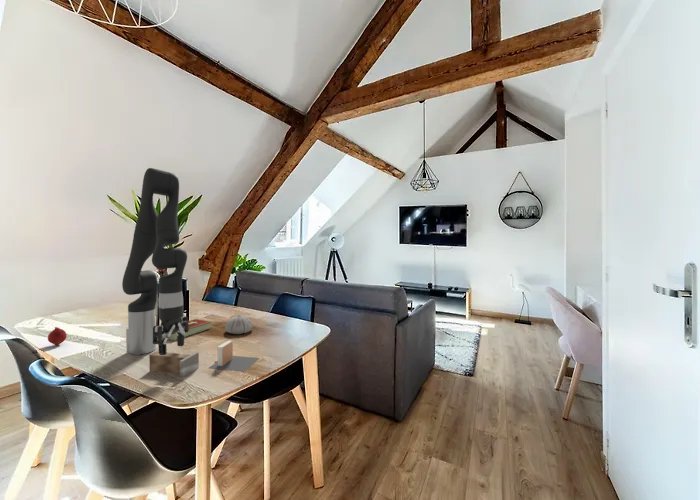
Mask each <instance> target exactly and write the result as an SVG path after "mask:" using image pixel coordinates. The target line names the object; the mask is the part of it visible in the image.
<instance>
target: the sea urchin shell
mask: <svg viewBox="0 0 700 500" xmlns="http://www.w3.org/2000/svg"><path fill="white" fill-rule="evenodd" d="M253 324H254V323H253V322H252V320H251V319H250V318H249V317H247V316H246V315H242V314H241V315H235V316H233V317H231V318H229V320H227V322H226V323H225V326H224V329H225V332H227V334H233V335H242V334H243V333H244V334H246V333H249V332H251V330H252V329H253V327H254V325H253Z"/></svg>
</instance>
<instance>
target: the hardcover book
mask: <svg viewBox="0 0 700 500" xmlns="http://www.w3.org/2000/svg"><path fill="white" fill-rule="evenodd" d="M211 324H212V321H211V320H207V319H206V320H204V319H199V318H194V319H190V320H188V327H189V331H188V332H186V333H185V335H184V338H186V337H188V336H191V335H194V334H199V333H200V332H204V331H207V330H210V329H211ZM184 329H185V326H184ZM164 334H165V333H164ZM165 335H166V334H165ZM177 336H178V335H177V334H176V333H173V334H171V336H170V337H169V338H168V339H167V340H172V341H177Z"/></svg>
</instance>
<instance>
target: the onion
mask: <svg viewBox="0 0 700 500" xmlns="http://www.w3.org/2000/svg"><path fill="white" fill-rule="evenodd" d="M67 335H68V334H67V332H66V330H64V329H62V328H60V327H58V326H55V327H54V329H53V330H51V331H50V333H48V335H47V341H48V342H49V343H50V344H52V345H54V346H59V345H61V344H62V343H63V342H65V341H66V339H67Z"/></svg>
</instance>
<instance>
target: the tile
mask: <svg viewBox="0 0 700 500" xmlns="http://www.w3.org/2000/svg"><path fill="white" fill-rule="evenodd" d="M233 344H234V343H233V340H227V341H225V342H223V343H221V344H219V346H217V362H218V366H223V365H224V364H226V363H227V362H228V361H230V360H231V359H233V356H234V355H233V353H234V352H233V350H234V348H233V346H234V345H233Z"/></svg>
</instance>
